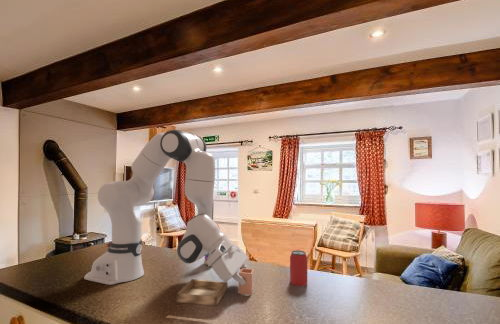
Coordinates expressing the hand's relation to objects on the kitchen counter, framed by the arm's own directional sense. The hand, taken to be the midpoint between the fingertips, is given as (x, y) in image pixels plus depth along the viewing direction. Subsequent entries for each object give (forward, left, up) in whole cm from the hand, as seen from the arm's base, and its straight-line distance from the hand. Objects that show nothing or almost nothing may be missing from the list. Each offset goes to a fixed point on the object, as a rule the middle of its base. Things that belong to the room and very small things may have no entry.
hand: (247, 280), depth 93 cm
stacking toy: (-22, +27, -5) cm, 35 cm away
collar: (0, 0, -4) cm, 4 cm away
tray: (-14, -6, -4) cm, 16 cm away
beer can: (+18, +12, -5) cm, 22 cm away
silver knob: (0, 0, -4) cm, 4 cm away
